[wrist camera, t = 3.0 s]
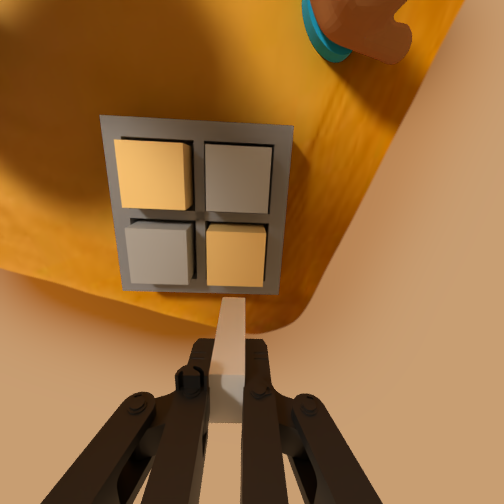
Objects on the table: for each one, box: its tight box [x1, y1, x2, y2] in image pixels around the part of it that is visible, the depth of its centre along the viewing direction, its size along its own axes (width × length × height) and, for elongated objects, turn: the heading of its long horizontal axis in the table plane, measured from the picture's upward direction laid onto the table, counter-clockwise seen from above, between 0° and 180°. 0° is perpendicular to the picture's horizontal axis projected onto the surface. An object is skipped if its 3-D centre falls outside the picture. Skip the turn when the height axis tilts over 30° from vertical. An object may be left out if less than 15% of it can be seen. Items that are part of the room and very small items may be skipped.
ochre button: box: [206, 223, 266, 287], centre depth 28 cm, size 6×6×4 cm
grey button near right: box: [205, 144, 272, 214], centre depth 25 cm, size 6×6×4 cm
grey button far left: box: [125, 220, 195, 285], centre depth 28 cm, size 6×6×4 cm
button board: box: [99, 115, 294, 295], centre depth 29 cm, size 18×18×4 cm
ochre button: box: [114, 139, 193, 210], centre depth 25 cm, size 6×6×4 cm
